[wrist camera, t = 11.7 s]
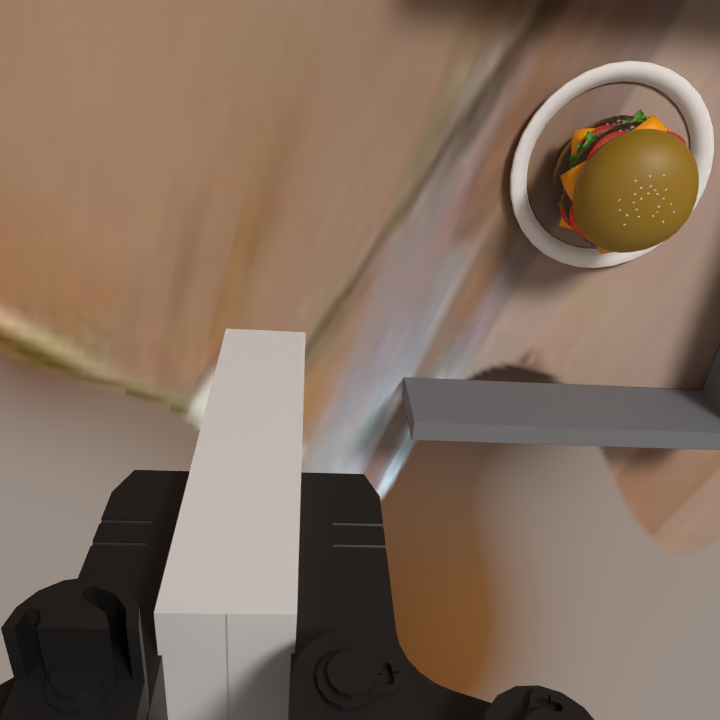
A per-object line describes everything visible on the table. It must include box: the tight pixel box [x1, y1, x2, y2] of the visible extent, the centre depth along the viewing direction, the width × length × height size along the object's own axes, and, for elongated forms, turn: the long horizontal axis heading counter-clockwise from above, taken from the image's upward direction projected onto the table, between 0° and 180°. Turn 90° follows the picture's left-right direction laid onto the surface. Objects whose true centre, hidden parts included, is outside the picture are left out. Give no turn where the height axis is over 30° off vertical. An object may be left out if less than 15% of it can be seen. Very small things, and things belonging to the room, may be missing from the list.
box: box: [402, 346, 720, 450], centre depth 29 cm, size 22×17×4 cm
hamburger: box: [510, 61, 714, 268], centre depth 28 cm, size 12×12×6 cm
